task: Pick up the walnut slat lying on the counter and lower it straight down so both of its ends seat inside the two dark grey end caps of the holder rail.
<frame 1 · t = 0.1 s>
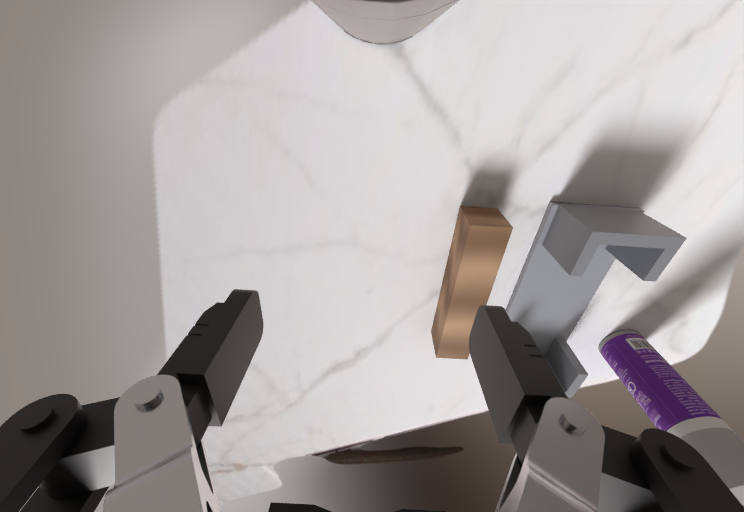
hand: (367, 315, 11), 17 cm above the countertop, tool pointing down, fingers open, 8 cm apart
endcap rail: (551, 292, 32), on the countertop
slat: (459, 277, 32), on the countertop
container: (618, 342, 36), on the countertop
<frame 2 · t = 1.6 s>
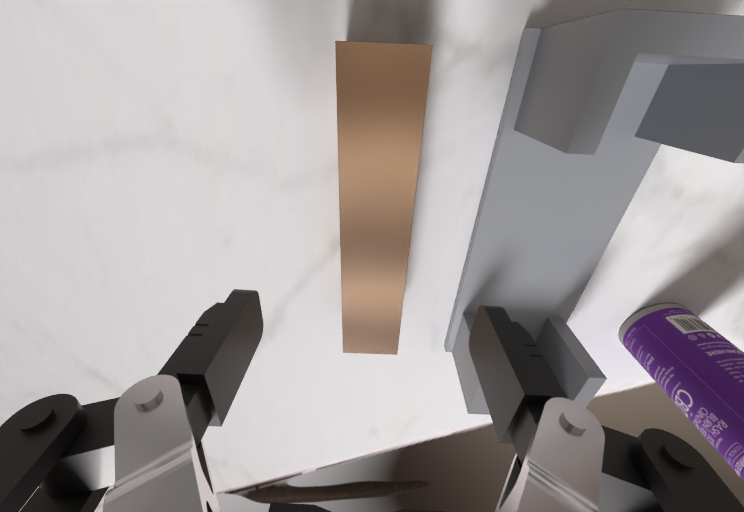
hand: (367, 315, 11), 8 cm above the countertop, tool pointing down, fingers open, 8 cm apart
endcap rail: (537, 235, 19), on the countertop
slat: (375, 210, 18), on the countertop
container: (650, 324, 23), on the countertop
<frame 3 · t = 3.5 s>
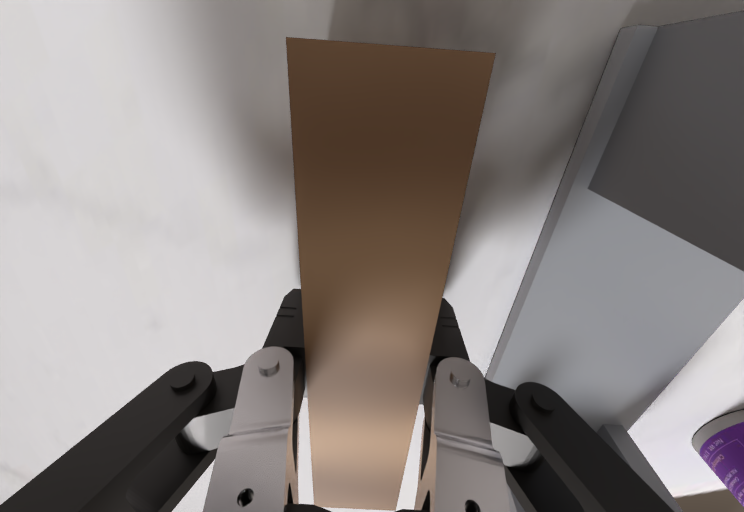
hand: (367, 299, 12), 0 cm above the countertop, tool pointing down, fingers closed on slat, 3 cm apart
endcap rail: (600, 326, 13), on the countertop
slat: (368, 296, 12), on the countertop, touching gripper
container: (736, 428, 17), on the countertop
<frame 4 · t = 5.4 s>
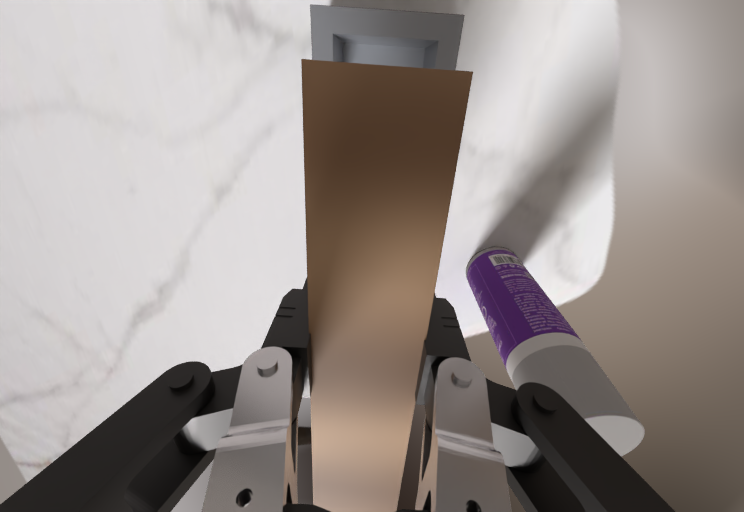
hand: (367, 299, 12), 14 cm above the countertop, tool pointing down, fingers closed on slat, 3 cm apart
endcap rail: (375, 186, 23), on the countertop
slat: (368, 299, 13), point 13 cm above the countertop, tilted 7°, touching gripper
container: (491, 268, 27), on the countertop
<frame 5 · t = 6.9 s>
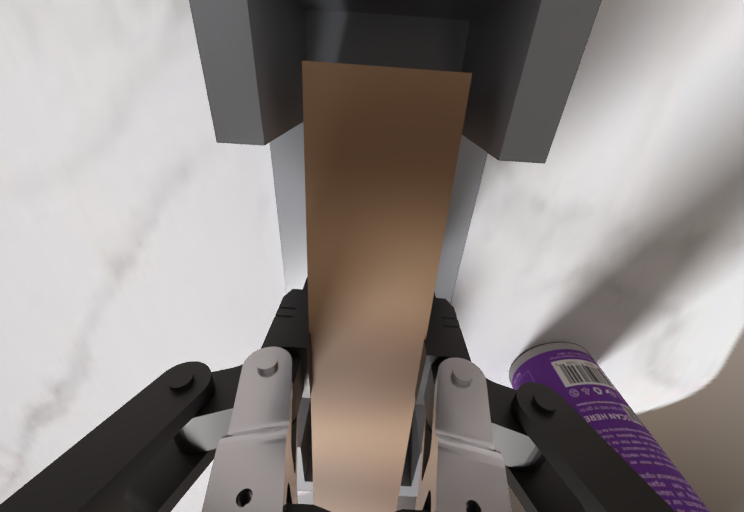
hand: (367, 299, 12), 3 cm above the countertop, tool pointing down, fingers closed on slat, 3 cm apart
endcap rail: (371, 258, 14), on the countertop
slat: (368, 299, 13), point 2 cm above the countertop, tilted 6°, touching gripper
container: (547, 366, 18), on the countertop
when the fingers open (2 cm above the countertop, at t = 7.7 s): slat stays where it is, resting on endcap rail.
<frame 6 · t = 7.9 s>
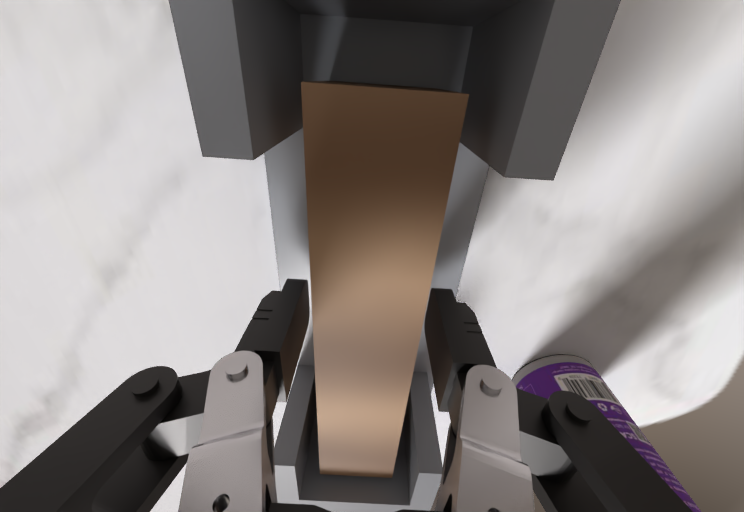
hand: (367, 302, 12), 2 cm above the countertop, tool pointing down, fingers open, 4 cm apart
endcap rail: (369, 269, 14), on the countertop
slat: (368, 288, 14), point 1 cm above the countertop, touching endcap rail
container: (549, 379, 18), on the countertop
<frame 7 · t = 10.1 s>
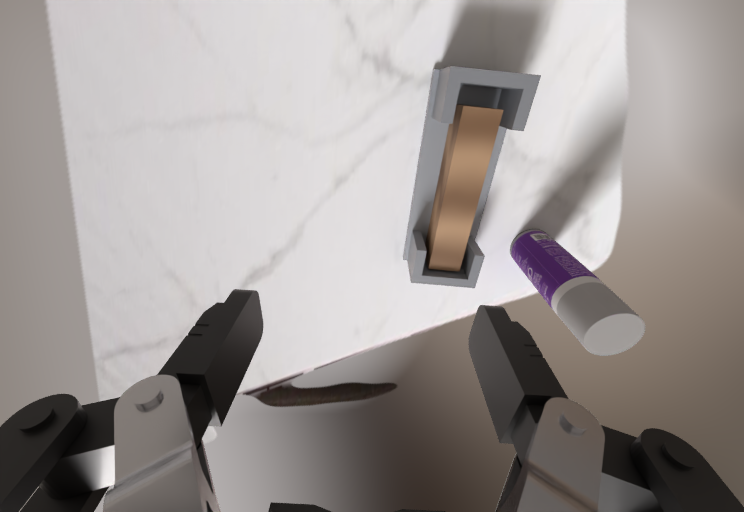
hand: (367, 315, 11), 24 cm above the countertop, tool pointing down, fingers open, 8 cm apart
endcap rail: (452, 180, 33), on the countertop
slat: (452, 187, 33), point 1 cm above the countertop, touching endcap rail
container: (528, 245, 37), on the countertop
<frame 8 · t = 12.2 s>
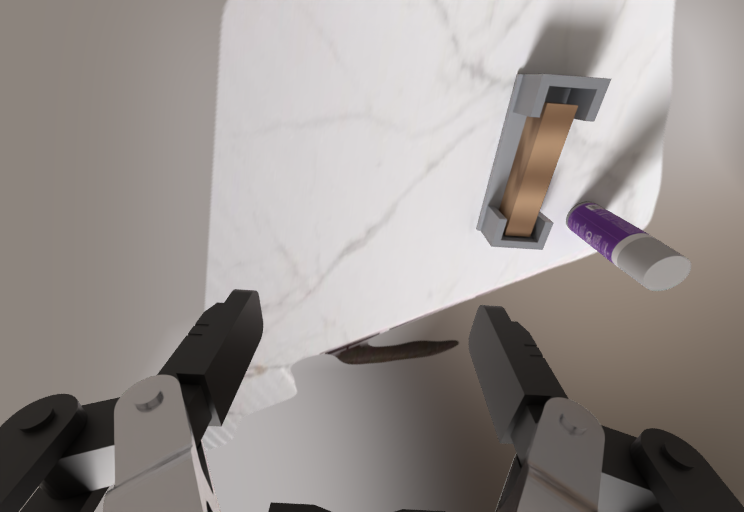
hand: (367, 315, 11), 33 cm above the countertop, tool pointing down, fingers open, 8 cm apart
endcap rail: (523, 163, 40), on the countertop
slat: (524, 168, 40), point 1 cm above the countertop, touching endcap rail
container: (581, 216, 44), on the countertop
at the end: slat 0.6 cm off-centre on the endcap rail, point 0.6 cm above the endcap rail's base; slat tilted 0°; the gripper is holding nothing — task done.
